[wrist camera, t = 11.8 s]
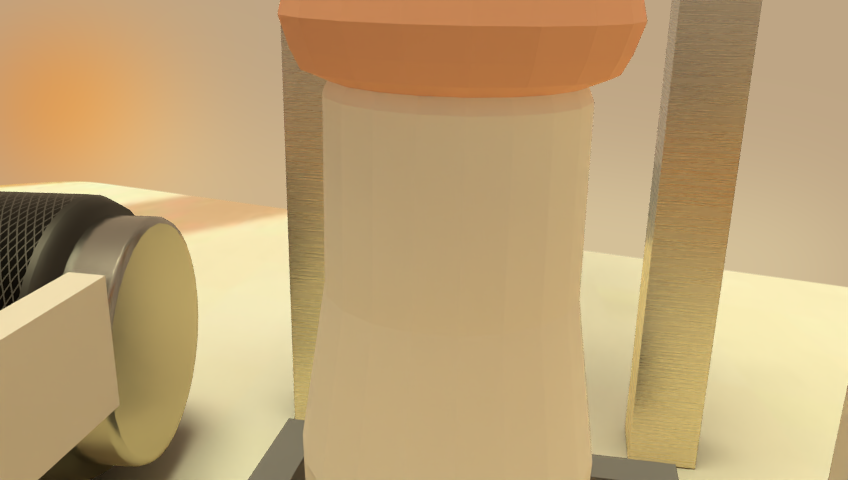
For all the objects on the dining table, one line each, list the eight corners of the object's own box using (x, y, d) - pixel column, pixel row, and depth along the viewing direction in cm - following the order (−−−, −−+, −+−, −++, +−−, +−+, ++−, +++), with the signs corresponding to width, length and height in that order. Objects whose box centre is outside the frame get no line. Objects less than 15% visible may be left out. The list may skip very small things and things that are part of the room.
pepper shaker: (556, 572, 24) (615, -118, 18) (612, 809, 17) (736, -173, 11) (315, 570, 24) (294, -124, 18) (275, 808, 17) (221, -184, 11)
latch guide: (695, 468, 30) (835, -510, 21) (295, 421, 32) (263, -465, 23) (687, 434, 32) (810, -462, 23) (313, 392, 34) (291, -426, 25)
